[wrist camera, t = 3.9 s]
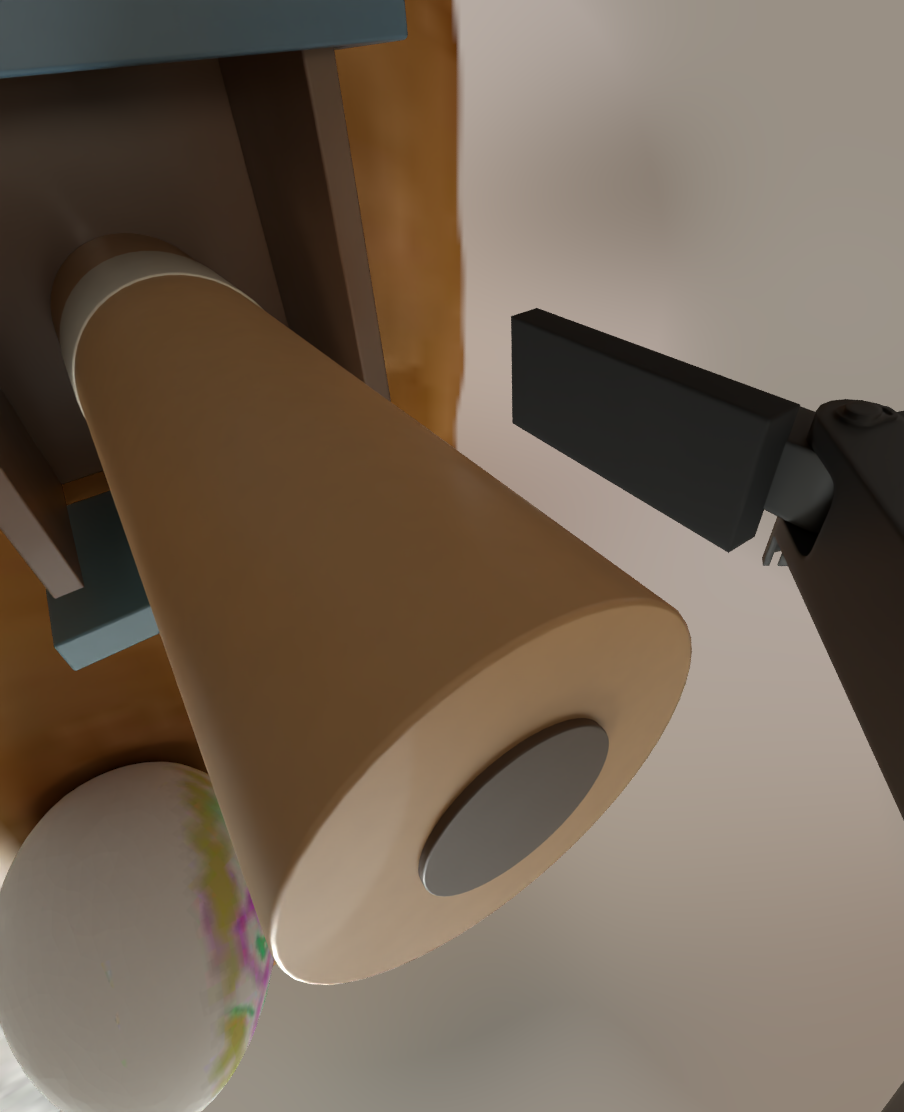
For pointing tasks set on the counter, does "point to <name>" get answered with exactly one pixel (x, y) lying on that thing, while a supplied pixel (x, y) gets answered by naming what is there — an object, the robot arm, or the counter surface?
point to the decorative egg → (131, 946)
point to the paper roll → (354, 620)
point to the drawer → (185, 222)
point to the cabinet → (181, 30)
